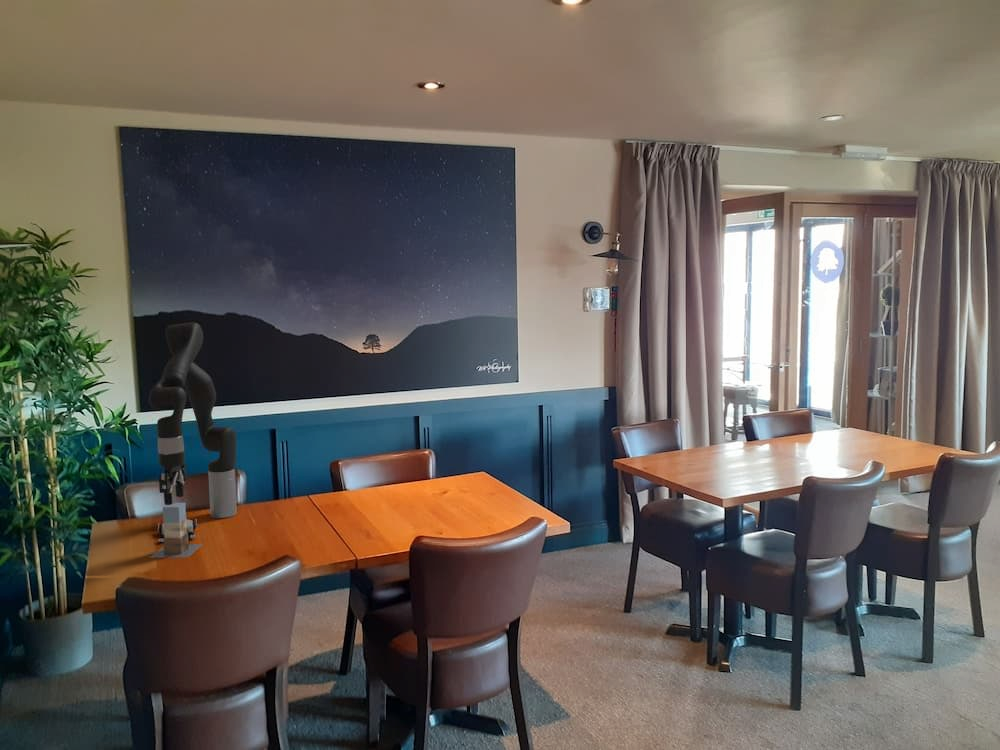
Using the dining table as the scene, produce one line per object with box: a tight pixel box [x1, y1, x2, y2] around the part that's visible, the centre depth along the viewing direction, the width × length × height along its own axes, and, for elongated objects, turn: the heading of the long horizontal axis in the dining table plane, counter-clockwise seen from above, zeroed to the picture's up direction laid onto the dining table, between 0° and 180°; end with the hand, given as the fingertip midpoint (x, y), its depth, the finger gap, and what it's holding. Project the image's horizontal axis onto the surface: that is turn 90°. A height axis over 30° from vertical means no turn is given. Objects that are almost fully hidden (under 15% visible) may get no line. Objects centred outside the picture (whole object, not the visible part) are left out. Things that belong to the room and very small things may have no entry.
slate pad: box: [148, 543, 203, 559], centre depth 238 cm, size 12×12×1 cm
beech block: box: [163, 517, 187, 538], centre depth 237 cm, size 5×5×5 cm
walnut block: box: [162, 533, 189, 554], centre depth 237 cm, size 6×6×5 cm
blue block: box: [162, 502, 187, 523], centre depth 236 cm, size 5×5×5 cm
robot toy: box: [157, 518, 198, 543], centre depth 252 cm, size 12×4×15 cm
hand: (174, 500), depth 236 cm, fingers open, 8 cm apart
